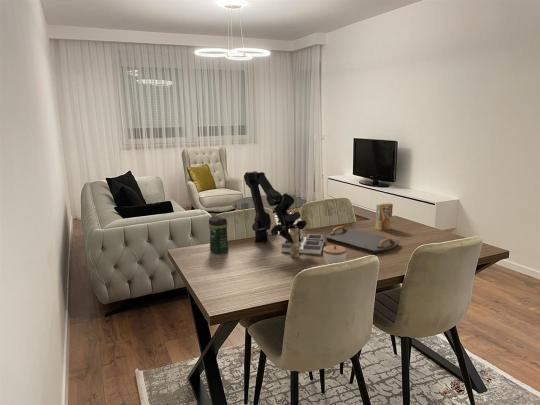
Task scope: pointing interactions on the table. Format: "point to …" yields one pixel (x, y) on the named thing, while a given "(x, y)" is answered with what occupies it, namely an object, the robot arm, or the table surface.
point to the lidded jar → (334, 254)
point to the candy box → (383, 216)
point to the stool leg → (294, 242)
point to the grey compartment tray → (306, 244)
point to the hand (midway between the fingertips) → (296, 242)
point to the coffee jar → (218, 235)
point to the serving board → (362, 239)
